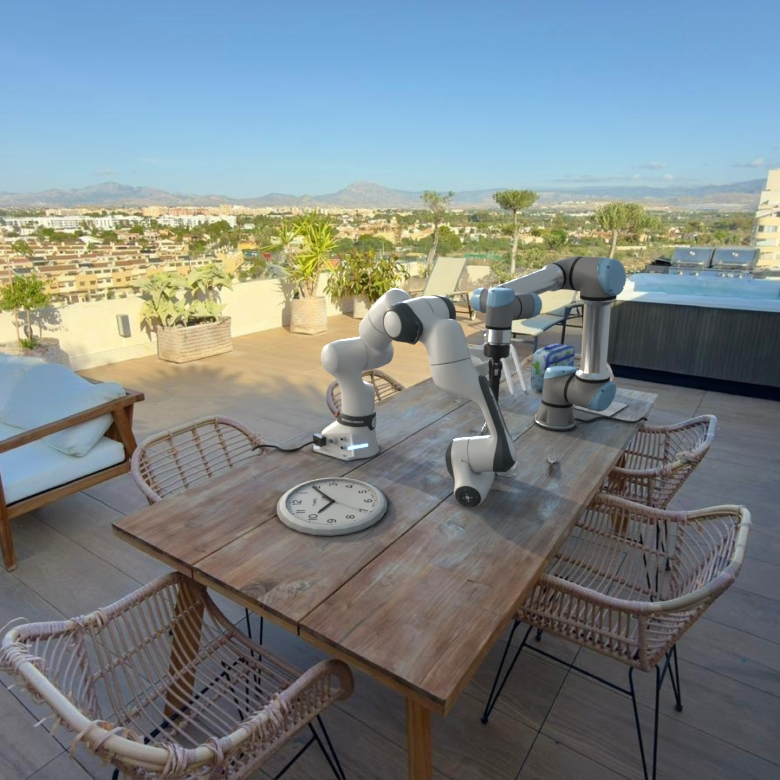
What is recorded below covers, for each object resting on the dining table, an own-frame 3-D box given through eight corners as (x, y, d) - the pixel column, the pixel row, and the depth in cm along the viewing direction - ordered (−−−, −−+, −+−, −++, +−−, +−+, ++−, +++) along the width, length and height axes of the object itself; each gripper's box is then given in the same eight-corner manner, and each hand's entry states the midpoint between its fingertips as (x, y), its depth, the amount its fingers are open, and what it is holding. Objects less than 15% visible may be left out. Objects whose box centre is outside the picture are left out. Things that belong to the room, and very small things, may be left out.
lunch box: (547, 395, 239) (552, 351, 233) (526, 390, 247) (530, 347, 240) (574, 384, 257) (579, 343, 251) (554, 380, 264) (558, 339, 258)
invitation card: (608, 416, 214) (573, 407, 224) (608, 416, 214) (573, 408, 224) (628, 404, 229) (594, 396, 238) (628, 405, 229) (594, 397, 238)
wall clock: (392, 527, 129) (268, 531, 127) (391, 533, 130) (269, 537, 127) (383, 473, 158) (282, 475, 155) (383, 478, 158) (282, 480, 156)
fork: (545, 476, 161) (545, 470, 161) (548, 456, 176) (549, 450, 175) (553, 477, 160) (554, 471, 160) (556, 457, 175) (557, 452, 174)
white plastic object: (461, 429, 252) (437, 405, 227) (444, 352, 274) (420, 323, 250) (535, 404, 240) (518, 377, 215) (510, 326, 262) (492, 293, 237)
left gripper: (517, 468, 146) (523, 449, 158) (446, 456, 153) (457, 439, 165) (515, 488, 148) (521, 468, 160) (445, 476, 154) (456, 457, 167)
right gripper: (483, 336, 160) (478, 408, 167) (484, 348, 144) (479, 427, 151) (508, 337, 159) (501, 409, 166) (512, 349, 143) (505, 429, 150)
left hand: (488, 453), depth 163 cm, fingers closed on bottle, 5 cm apart
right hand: (491, 418), depth 158 cm, fingers closed on cap, 4 cm apart
